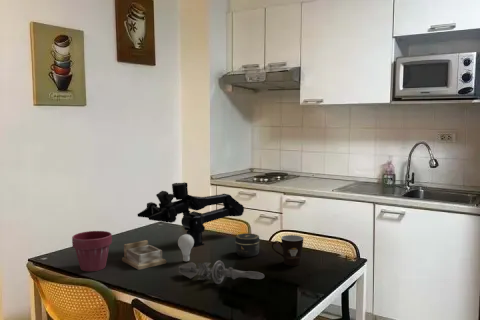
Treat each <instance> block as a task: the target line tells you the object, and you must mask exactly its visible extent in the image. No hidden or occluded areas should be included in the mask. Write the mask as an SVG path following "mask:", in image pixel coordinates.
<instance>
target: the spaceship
mask: <svg viewBox="0 0 480 320" xmlns="http://www.w3.org/2000/svg"><path fill="white" fill-rule="evenodd" d="M211 264H212V263H211V262H203V263H200V262H198V263H197V265H196V264H195V263H194V262H193V261H191V262H186V263H184V264H183V263H182V265H181V264H180V265H179V266H178V268H177V269H178V273H179V274H181V275H182V276H184V277H187V278H189V279H193V278H194V277H195V276H197V275H198V276H199V277H198V278H197V280H200V281H205V280H211V279H212V281H213V282H214V283H215V284H216V285H219V284H220V285H221V284H222V283H223V281H224V279H225V278H231V279H232V280H236V279H237V278H248V279H252V280H253V279H254V280H262V279H265V274H264V273H262V272H259V271H254V270H253V271H252V270H248V271H245V270H239V269H235V268H233V267H230V266H229V267H228V268H226V267H225V264H224V261H221V259H220V260H217V261H215V263H214V264H213V266H212V267H209V266H210V265H211ZM197 266H198V268H197ZM211 277H212V278H211Z"/></svg>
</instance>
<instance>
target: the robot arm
mask: <svg viewBox="0 0 480 320" xmlns="http://www.w3.org/2000/svg"><path fill="white" fill-rule="evenodd" d="M171 189H172V193H169V192H168V191H166V190H161V191H160V192H157V194H155V196H156V198H157V199H158V201H159V203H158V204H157V203H155V202H153V201H151V202H147V203H146V208H145V209H143V210H142V211H140V212H139V213H137V214H136V216H137V217H138V218H147V219H148V220H149V221H154V222H161V223H170V224H171V223H175V222H176V220H177V217H178V215H181V214H182V215H183V217H182V218H181V220H180V223H181V225H182V226H183V228H184V229H183V230H184V231H186V234H188V235H191V236H192V237H193V239H194V245H193V247H192V248H194V247H198V246H202V245H205V242H203V232H205V229H206V226H205V225H204V224H205V223H211V222H213V221H217V220H220V219H223V218H226V217H241V216H243V214H244V212H245V206H244V205H243V204H242V203H240V202H239V201H238V200H236V199H235V198H234V197H233V196H232V195H231V194H229V193H221V194H215V195H214V194H213V195H208V196H197V195H196V196H195V195H192V194H191V195H190V194H189V193H188V192H189V190H188V182H185V181H183V182H174V183H172V184H171ZM174 199H175V200H176V201H173V200H174ZM220 204H223V205H222V206H223V207H221V208H218V209H213V210H210V211H206V212H203V213H201V212H198V211H200V210H202V209H204V208H206V207H209V206H215V205H220ZM191 210H193V211H191Z"/></svg>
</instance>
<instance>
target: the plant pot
mask: <svg viewBox="0 0 480 320" xmlns="http://www.w3.org/2000/svg"><path fill="white" fill-rule="evenodd" d="M112 236H113V235H112V233H111V232H109V231H104V230H92V231H91V230H89V231H83V232H79V233H76V234H74V235H73V236H72V238H71V240H72V241H71V244H72V248H73V249H75V252H76V253H75V255H76V256H77V260H78V264H79V268H80V270H81V271H83V272H98V271H102V270H103V269H105V268H106V266H107V261H108V260H107V259H108V256H109V250H110V245H112V243H113V237H112Z"/></svg>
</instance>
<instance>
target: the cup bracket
mask: <svg viewBox="0 0 480 320" xmlns="http://www.w3.org/2000/svg"><path fill="white" fill-rule="evenodd" d="M123 253H124V254H123V256H124V257H122V258H121V261H122V262H123V263H125V264H127V265H129V266H131V267H133V268H135V269H137V270H138V271H140V270H144V269H147V268H151V267H152V268H153V267H156V266H161V265H164V264H167V260H166V259H165V258H163V250H162V249H160V248H158V247H156V246H153V245H151V244H149V241H148V240H147V239H145V240H140V241H139V240H138V241H135V242H130V243H125V244H123Z"/></svg>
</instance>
